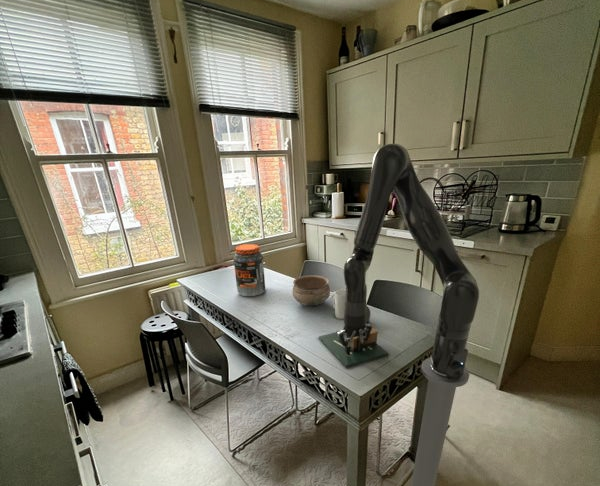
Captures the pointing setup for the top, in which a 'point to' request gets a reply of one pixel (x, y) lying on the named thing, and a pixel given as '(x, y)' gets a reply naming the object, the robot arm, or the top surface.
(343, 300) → the mug
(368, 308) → the vase
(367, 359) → the slate board
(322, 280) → the cooking pot
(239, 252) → the supplement tub
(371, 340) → the eraser
